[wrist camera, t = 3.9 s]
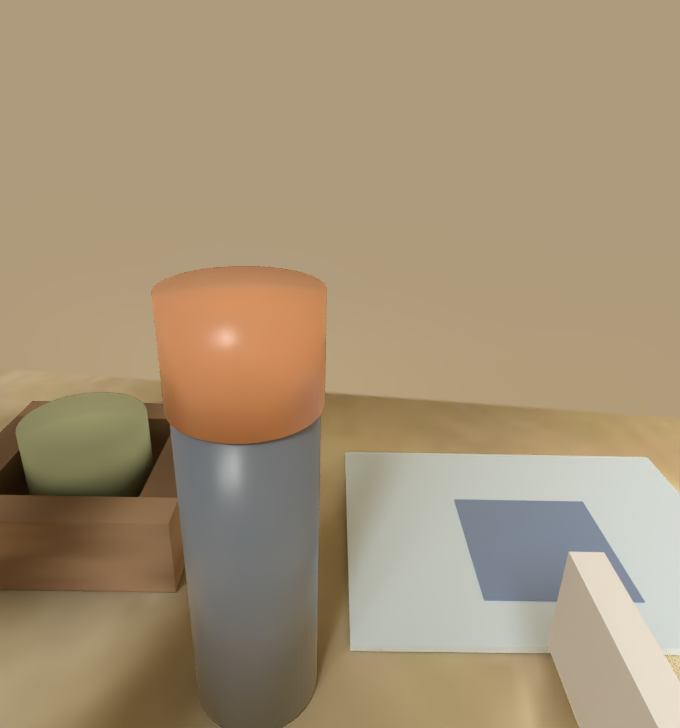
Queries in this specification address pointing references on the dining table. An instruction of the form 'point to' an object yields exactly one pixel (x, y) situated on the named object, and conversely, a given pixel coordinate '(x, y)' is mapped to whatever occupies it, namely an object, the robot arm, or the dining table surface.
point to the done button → (86, 446)
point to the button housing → (91, 527)
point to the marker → (247, 479)
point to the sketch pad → (500, 546)
